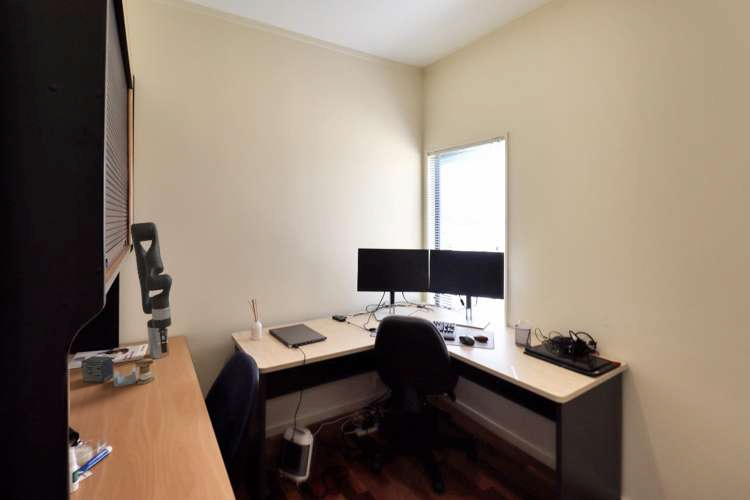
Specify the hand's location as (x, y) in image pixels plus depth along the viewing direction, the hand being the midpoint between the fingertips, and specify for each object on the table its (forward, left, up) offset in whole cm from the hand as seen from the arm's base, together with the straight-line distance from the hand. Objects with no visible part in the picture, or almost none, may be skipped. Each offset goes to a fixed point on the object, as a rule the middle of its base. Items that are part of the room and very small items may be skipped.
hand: (164, 351), depth 171 cm
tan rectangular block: (0, 0, -2) cm, 2 cm away
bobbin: (-2, -8, -14) cm, 16 cm away
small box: (-15, -27, -14) cm, 34 cm away
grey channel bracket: (-6, -16, -14) cm, 22 cm away
